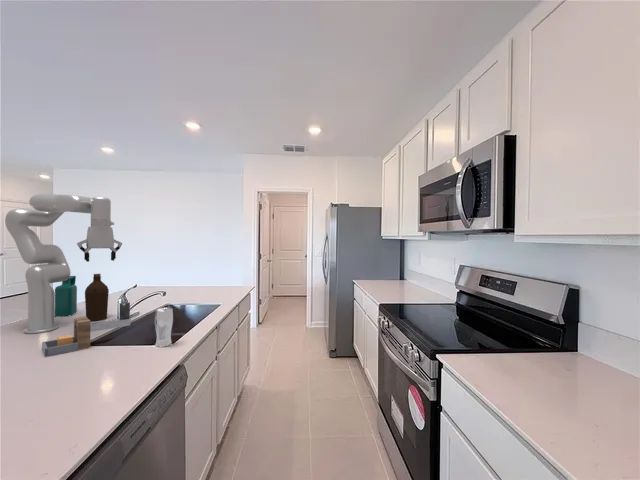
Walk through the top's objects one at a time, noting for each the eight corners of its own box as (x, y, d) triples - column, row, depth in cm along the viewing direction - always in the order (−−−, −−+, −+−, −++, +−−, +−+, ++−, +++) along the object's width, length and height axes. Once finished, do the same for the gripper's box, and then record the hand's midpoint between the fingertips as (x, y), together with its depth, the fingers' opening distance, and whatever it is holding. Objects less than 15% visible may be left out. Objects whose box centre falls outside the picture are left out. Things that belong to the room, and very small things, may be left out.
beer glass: (167, 347, 127) (167, 311, 127) (150, 347, 128) (151, 311, 128) (175, 341, 134) (176, 307, 134) (160, 341, 135) (160, 307, 134)
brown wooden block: (73, 343, 130) (73, 318, 130) (85, 341, 133) (85, 316, 133) (78, 350, 123) (78, 322, 123) (90, 347, 126) (90, 320, 126)
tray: (42, 349, 123) (42, 342, 123) (73, 343, 131) (73, 336, 131) (45, 357, 116) (45, 349, 116) (78, 350, 123) (78, 342, 123)
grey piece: (76, 332, 129) (76, 308, 129) (128, 323, 142) (128, 301, 142) (78, 334, 126) (78, 310, 126) (130, 325, 140) (131, 303, 140)
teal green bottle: (70, 316, 175) (71, 277, 175) (53, 317, 173) (53, 277, 172) (79, 312, 184) (79, 275, 184) (62, 312, 182) (62, 275, 182)
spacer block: (71, 345, 128) (57, 347, 124) (71, 334, 128) (57, 336, 124) (72, 347, 125) (58, 350, 121) (73, 336, 124) (58, 339, 121)
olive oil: (112, 318, 171) (112, 273, 171) (90, 323, 162) (90, 275, 162) (102, 315, 176) (103, 272, 176) (80, 320, 167) (81, 274, 167)
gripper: (120, 225, 151) (119, 259, 151) (75, 223, 139) (75, 261, 139) (124, 224, 146) (124, 260, 146) (78, 223, 134) (78, 262, 134)
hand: (100, 260), depth 143 cm, fingers open, 9 cm apart
